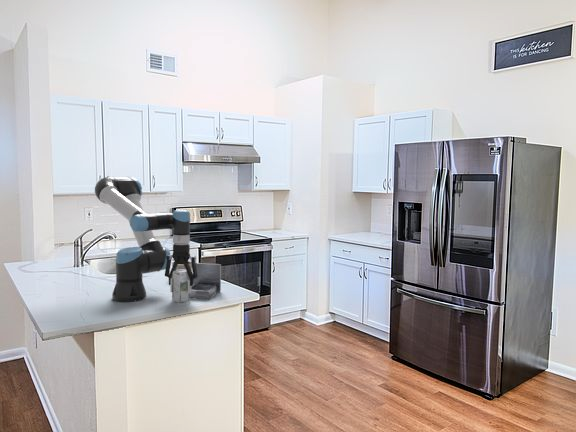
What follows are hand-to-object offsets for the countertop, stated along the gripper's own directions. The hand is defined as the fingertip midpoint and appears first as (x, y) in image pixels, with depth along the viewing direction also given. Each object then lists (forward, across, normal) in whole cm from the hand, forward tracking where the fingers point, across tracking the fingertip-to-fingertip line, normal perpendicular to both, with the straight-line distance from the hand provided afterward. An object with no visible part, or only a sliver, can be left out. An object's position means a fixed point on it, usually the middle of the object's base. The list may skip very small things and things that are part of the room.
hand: (180, 292), depth 213 cm
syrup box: (+4, 0, 0) cm, 4 cm away
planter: (+4, -15, +40) cm, 43 cm away
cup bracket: (+4, +6, +13) cm, 15 cm away
